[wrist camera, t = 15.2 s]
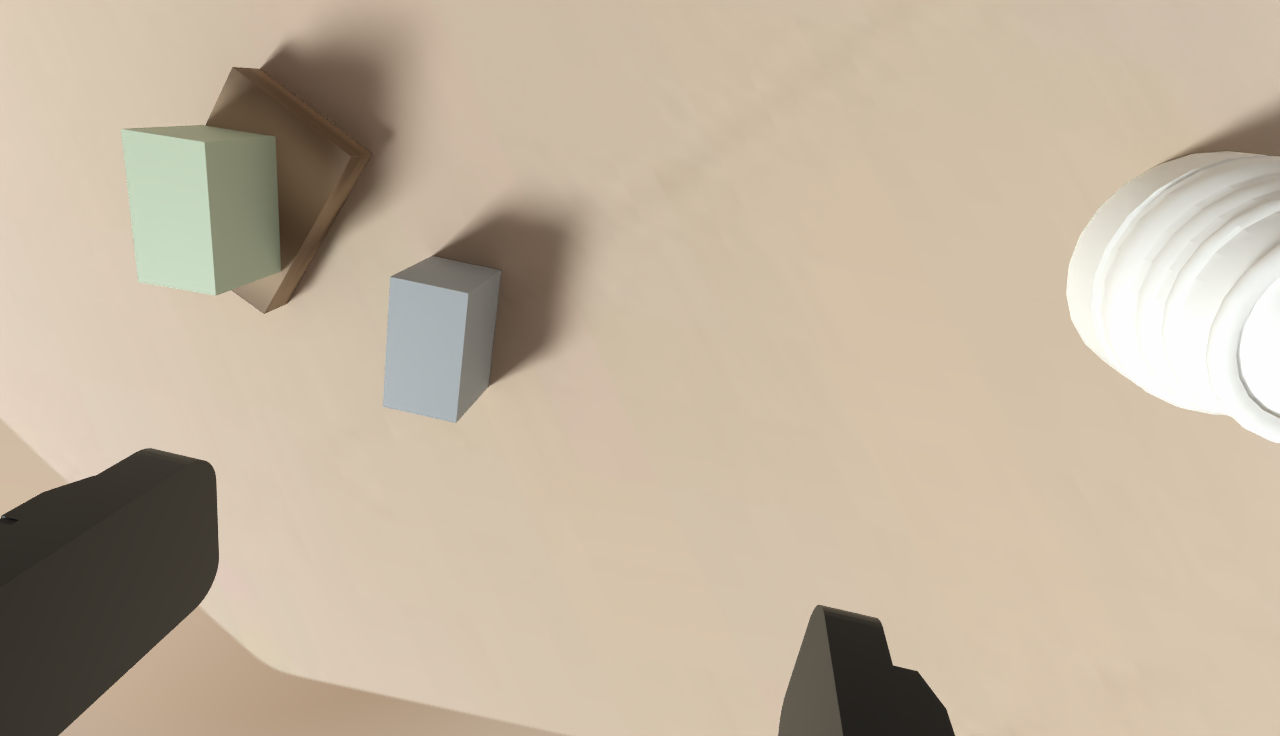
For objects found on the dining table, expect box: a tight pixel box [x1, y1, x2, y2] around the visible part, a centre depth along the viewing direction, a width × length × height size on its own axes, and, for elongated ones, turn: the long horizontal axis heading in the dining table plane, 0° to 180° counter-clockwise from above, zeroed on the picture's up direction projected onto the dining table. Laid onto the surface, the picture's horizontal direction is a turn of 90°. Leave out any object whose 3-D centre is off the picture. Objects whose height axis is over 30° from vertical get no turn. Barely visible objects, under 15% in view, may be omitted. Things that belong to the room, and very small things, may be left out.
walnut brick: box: [206, 67, 371, 314], centre depth 45 cm, size 12×8×3 cm, turn 143°
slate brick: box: [383, 256, 501, 423], centre depth 45 cm, size 8×4×6 cm, turn 170°
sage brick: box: [121, 125, 281, 296], centre depth 41 cm, size 8×4×6 cm, turn 172°
